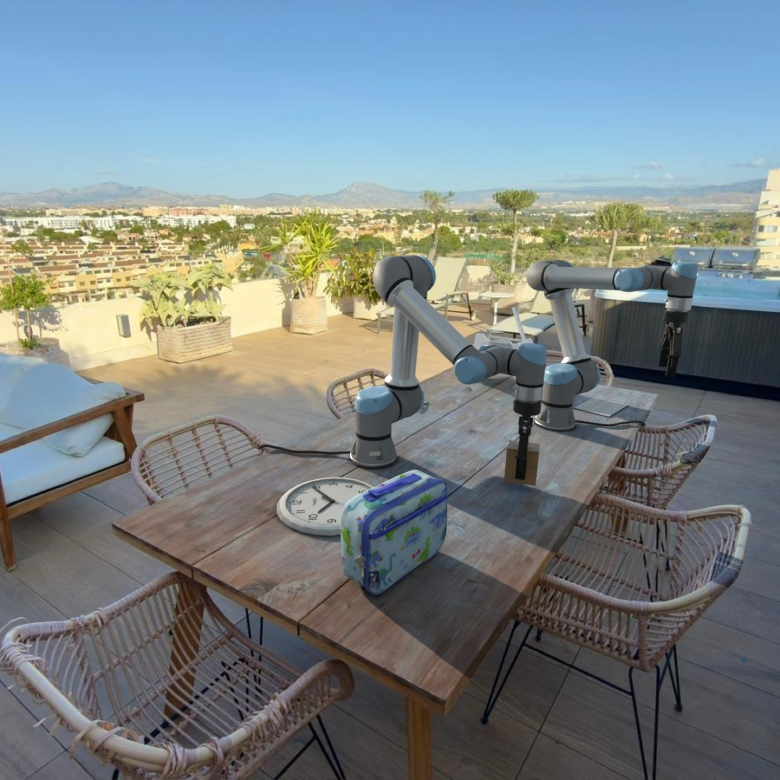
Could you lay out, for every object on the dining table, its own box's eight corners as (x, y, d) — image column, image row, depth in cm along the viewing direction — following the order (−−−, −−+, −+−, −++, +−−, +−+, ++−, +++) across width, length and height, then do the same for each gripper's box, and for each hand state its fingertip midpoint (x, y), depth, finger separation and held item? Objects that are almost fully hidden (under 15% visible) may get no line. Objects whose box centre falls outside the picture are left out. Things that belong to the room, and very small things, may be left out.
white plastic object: (482, 418, 266) (461, 395, 241) (463, 346, 288) (443, 318, 264) (553, 394, 254) (538, 368, 229) (528, 321, 276) (512, 289, 251)
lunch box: (368, 607, 104) (369, 515, 98) (334, 582, 112) (333, 494, 106) (451, 554, 122) (455, 472, 116) (417, 535, 129) (420, 457, 123)
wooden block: (505, 472, 158) (508, 439, 155) (536, 476, 155) (539, 443, 152) (503, 481, 152) (506, 448, 149) (535, 486, 150) (539, 452, 146)
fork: (413, 411, 216) (413, 406, 216) (424, 399, 231) (424, 395, 230) (419, 411, 216) (419, 407, 215) (429, 400, 230) (429, 396, 229)
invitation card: (608, 416, 214) (573, 407, 224) (608, 416, 214) (573, 408, 224) (628, 404, 229) (594, 396, 238) (628, 405, 229) (594, 397, 238)
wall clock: (392, 527, 129) (268, 531, 127) (391, 533, 130) (269, 537, 127) (383, 473, 158) (282, 475, 155) (383, 478, 158) (282, 480, 156)
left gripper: (516, 388, 156) (510, 458, 163) (511, 408, 138) (504, 486, 145) (542, 390, 154) (535, 462, 161) (541, 411, 136) (532, 490, 143)
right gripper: (658, 304, 187) (648, 362, 193) (672, 314, 164) (661, 379, 170) (681, 305, 185) (670, 363, 191) (699, 316, 162) (686, 382, 168)
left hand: (520, 473), depth 153 cm, fingers closed on wooden block, 6 cm apart
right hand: (666, 371), depth 181 cm, fingers open, 13 cm apart
